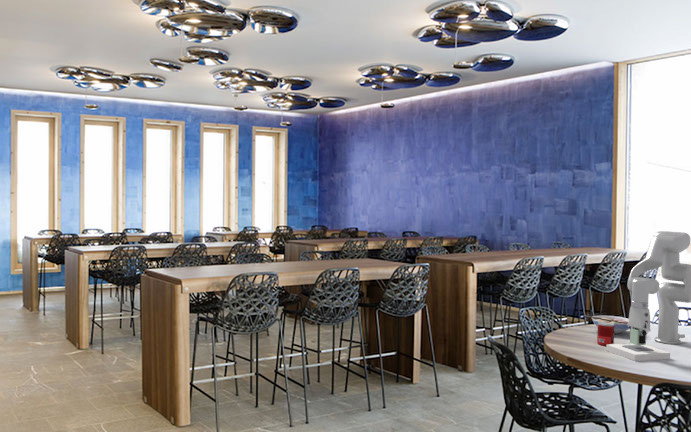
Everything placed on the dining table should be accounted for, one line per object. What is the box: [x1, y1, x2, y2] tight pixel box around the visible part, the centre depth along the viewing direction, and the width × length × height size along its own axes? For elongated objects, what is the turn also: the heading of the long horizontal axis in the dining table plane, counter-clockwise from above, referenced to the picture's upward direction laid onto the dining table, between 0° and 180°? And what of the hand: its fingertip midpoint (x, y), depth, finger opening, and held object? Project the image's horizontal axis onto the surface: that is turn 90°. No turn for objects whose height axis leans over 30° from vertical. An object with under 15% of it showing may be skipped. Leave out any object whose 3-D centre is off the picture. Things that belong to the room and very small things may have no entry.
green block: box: [629, 328, 647, 345], centre depth 307 cm, size 5×5×7 cm
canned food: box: [596, 322, 615, 347], centre depth 327 cm, size 8×8×11 cm
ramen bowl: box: [584, 315, 630, 335], centre depth 357 cm, size 25×23×8 cm
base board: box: [605, 342, 671, 362], centre depth 307 cm, size 20×20×3 cm
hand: (637, 341), depth 307 cm, fingers closed on green block, 4 cm apart
